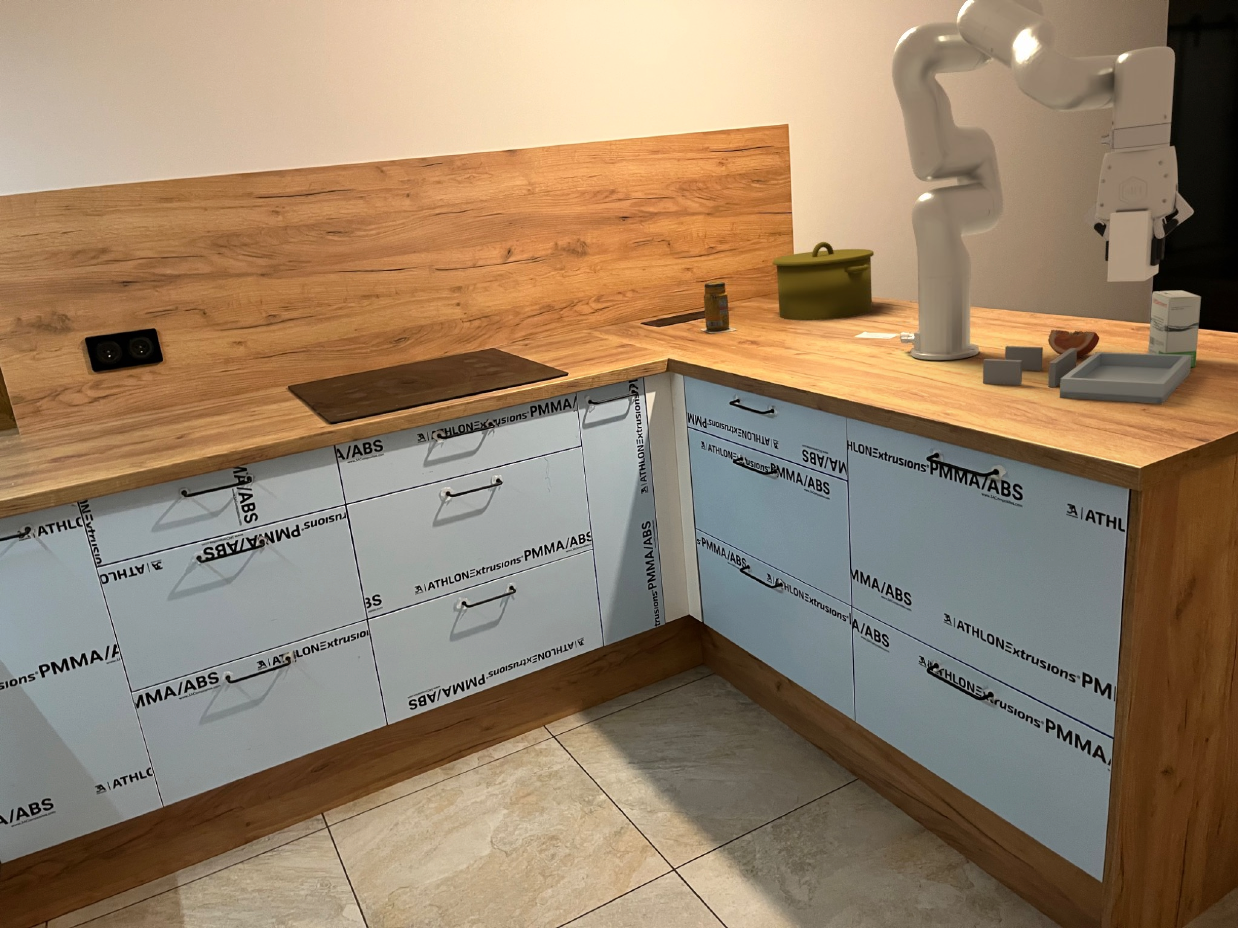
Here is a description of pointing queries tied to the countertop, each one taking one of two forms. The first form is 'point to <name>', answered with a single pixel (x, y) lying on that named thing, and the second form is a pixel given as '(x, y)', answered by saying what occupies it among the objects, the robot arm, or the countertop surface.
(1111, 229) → the grey-panelled white block
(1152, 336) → the ink box
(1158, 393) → the tray
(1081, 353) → the fruit slice
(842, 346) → the countertop surface
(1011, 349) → the dock
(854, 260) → the cooking pot
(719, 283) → the condiment
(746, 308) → the countertop surface
